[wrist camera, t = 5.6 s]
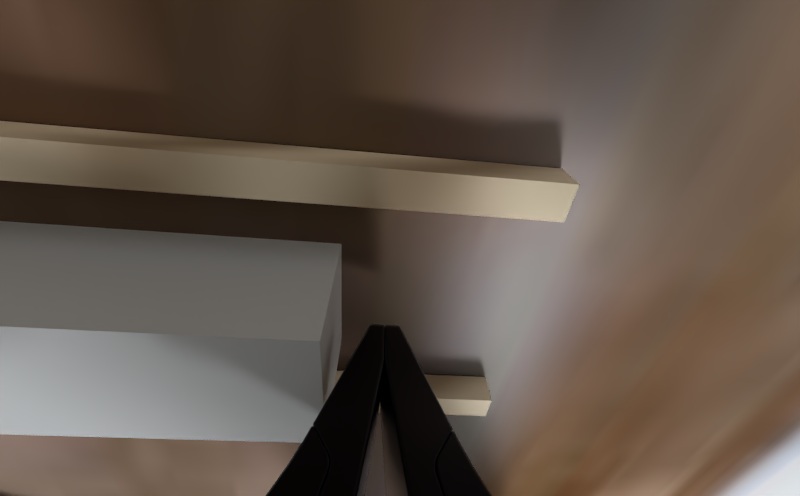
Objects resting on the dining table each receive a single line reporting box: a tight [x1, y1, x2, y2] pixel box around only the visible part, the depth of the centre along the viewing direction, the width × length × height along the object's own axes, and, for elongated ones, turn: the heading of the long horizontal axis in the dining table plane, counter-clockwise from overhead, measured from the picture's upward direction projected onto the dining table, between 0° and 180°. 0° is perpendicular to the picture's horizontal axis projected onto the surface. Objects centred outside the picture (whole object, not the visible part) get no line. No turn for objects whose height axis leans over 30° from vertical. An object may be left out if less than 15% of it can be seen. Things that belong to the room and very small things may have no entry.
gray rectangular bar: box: [0, 221, 342, 443], centre depth 9 cm, size 16×4×4 cm, turn 85°
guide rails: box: [0, 121, 580, 416], centre depth 10 cm, size 19×10×1 cm, turn 85°
